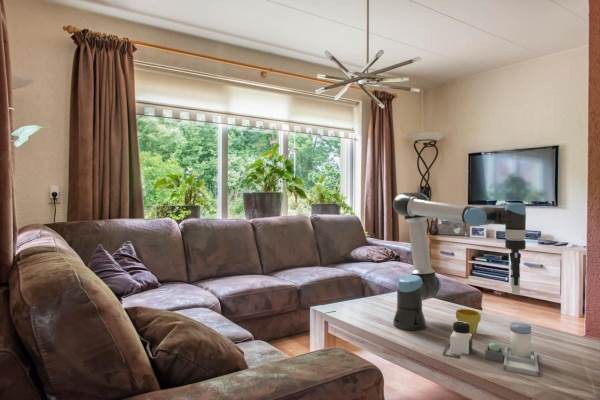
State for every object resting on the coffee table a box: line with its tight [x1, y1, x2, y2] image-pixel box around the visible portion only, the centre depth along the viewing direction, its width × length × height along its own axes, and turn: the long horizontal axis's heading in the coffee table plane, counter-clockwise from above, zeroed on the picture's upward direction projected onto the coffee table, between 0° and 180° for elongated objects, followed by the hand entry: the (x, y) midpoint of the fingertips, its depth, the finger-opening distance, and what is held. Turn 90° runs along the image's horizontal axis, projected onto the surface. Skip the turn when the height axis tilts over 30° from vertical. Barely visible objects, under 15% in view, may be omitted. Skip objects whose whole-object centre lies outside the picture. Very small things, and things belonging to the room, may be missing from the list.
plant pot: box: [455, 308, 482, 334], centre depth 179 cm, size 10×10×10 cm
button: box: [488, 342, 501, 352], centre depth 149 cm, size 4×4×3 cm
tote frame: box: [442, 343, 461, 359], centre depth 157 cm, size 13×13×1 cm
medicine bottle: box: [449, 320, 473, 357], centre depth 157 cm, size 7×7×12 cm
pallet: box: [484, 345, 540, 377], centre depth 146 cm, size 18×22×4 cm
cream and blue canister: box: [509, 322, 532, 359], centre depth 149 cm, size 7×7×12 cm
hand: (515, 289), depth 166 cm, fingers open, 13 cm apart
